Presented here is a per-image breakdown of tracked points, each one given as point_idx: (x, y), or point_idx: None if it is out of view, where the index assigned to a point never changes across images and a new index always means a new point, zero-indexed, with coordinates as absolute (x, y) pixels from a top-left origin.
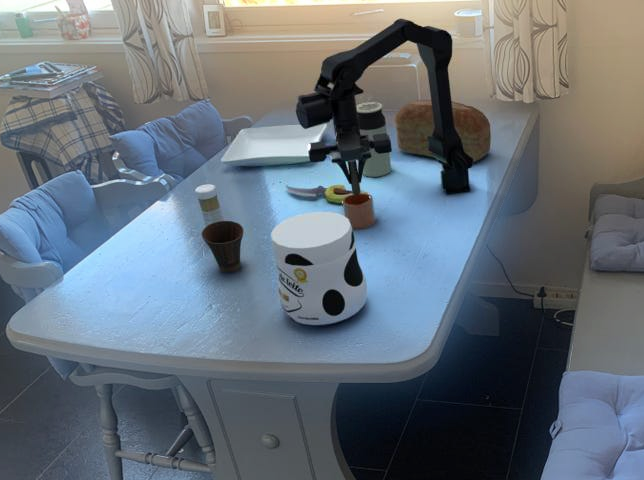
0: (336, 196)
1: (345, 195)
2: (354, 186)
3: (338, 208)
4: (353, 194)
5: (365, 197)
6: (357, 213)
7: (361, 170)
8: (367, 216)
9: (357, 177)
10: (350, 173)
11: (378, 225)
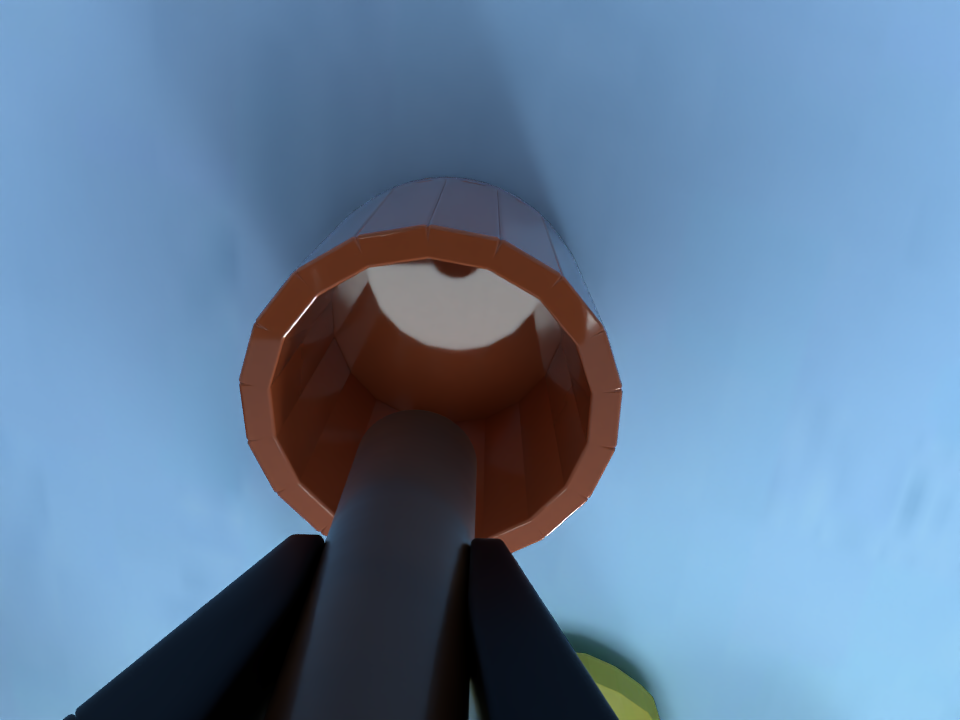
0: None
1: None
2: (422, 479)
3: (597, 596)
4: None
5: (338, 489)
6: (461, 208)
7: (120, 708)
8: (360, 213)
9: (313, 603)
10: (440, 697)
11: (289, 194)
